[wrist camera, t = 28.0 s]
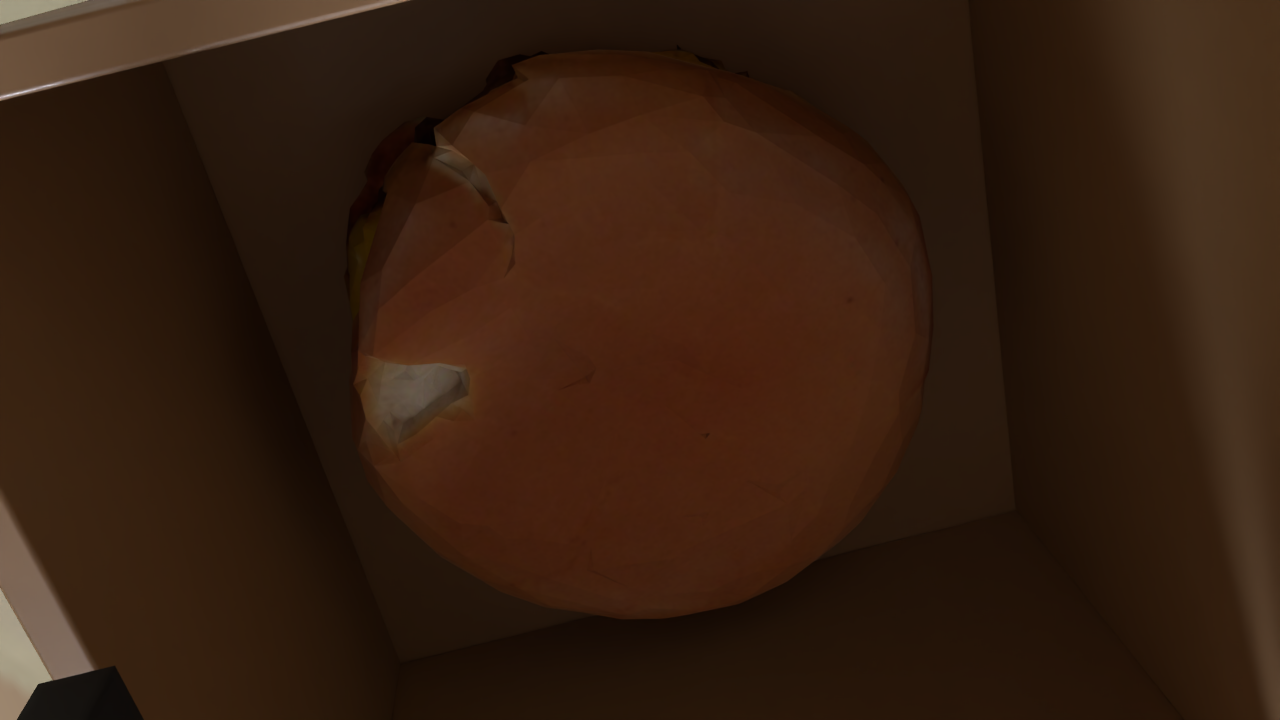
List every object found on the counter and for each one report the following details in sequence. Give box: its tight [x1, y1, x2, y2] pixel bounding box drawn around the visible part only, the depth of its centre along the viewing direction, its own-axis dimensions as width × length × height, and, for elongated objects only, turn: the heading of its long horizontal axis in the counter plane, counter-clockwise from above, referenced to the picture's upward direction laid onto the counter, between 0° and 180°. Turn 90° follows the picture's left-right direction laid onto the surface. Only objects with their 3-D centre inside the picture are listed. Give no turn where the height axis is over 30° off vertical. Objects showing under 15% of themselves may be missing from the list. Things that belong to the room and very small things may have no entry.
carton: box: [0, 0, 1280, 720], centre depth 16 cm, size 14×14×10 cm
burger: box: [344, 44, 934, 619], centre depth 18 cm, size 10×9×5 cm
